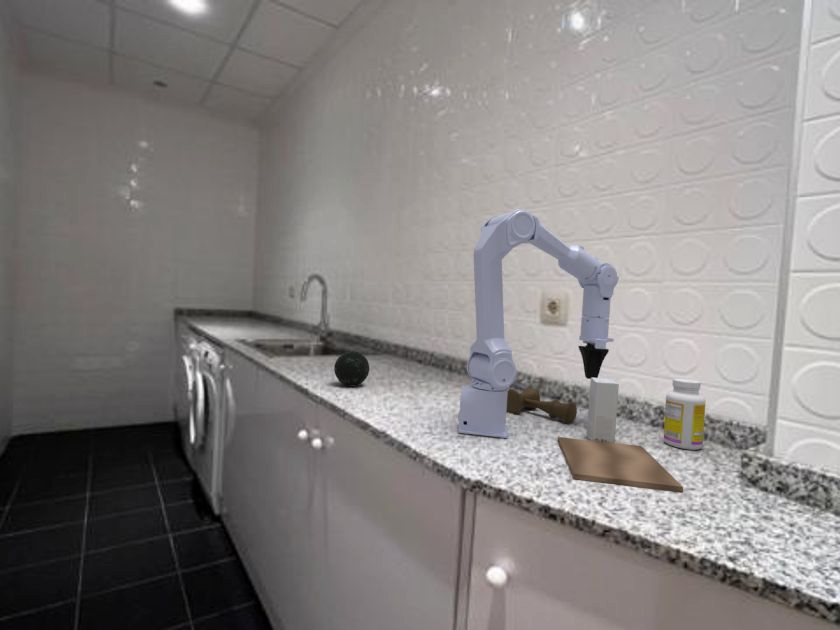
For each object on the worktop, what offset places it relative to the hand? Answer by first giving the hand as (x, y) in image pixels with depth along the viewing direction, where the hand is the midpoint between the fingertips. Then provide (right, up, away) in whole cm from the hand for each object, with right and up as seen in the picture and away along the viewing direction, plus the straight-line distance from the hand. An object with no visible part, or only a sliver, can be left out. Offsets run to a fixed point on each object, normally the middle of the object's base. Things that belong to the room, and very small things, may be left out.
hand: (591, 378), depth 98 cm
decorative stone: (-58, -7, +29) cm, 65 cm away
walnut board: (-6, -11, -24) cm, 27 cm away
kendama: (-11, -10, +7) cm, 17 cm away
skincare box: (-3, -11, -12) cm, 16 cm away
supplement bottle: (+13, -12, -11) cm, 21 cm away
